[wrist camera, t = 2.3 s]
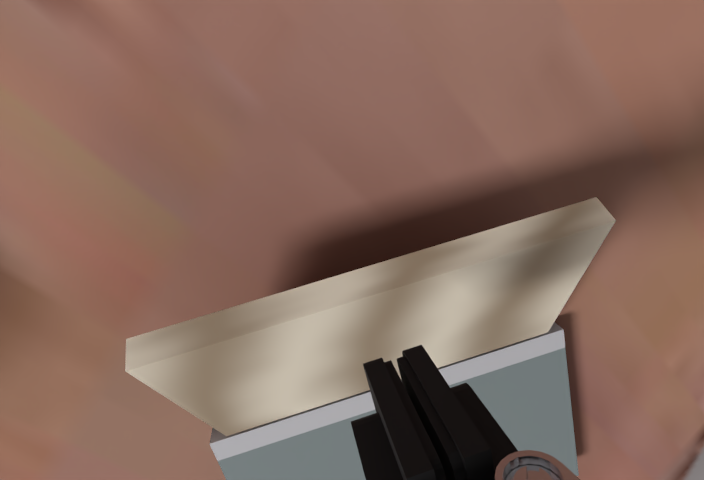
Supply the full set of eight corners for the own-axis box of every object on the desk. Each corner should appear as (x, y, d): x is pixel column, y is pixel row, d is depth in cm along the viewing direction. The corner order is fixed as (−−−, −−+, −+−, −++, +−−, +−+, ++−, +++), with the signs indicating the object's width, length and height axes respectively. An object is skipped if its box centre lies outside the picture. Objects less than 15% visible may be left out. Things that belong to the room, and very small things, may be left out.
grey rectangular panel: (549, 318, 26) (563, 329, 25) (566, 459, 29) (578, 475, 28) (212, 426, 24) (209, 443, 23) (273, 561, 28) (273, 582, 27)
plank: (596, 197, 17) (616, 220, 16) (536, 313, 25) (547, 332, 24) (126, 339, 16) (125, 371, 15) (224, 413, 24) (226, 436, 23)
